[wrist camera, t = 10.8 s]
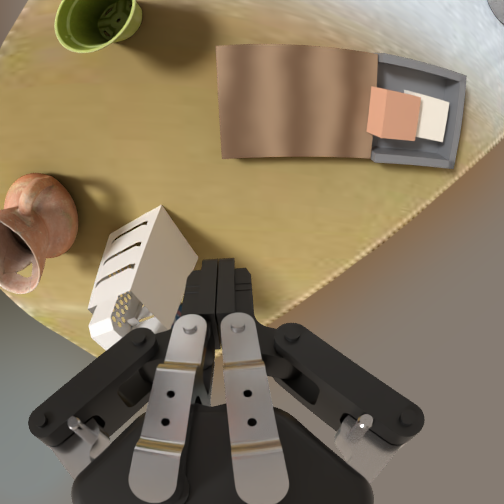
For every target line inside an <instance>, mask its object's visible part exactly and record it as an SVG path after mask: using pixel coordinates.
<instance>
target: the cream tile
mask: <svg viewBox="0 0 504 504" xmlns="http://www.w3.org/2000/svg"><path fill="white" fill-rule="evenodd" d="M404 93H407V94H410V95H414V96H418V97H421V103H420V110H419V118H418V124H417V131H416V137H420V138H425V139H430V140H434V141H439V142H443V138H444V133H445V127H446V121H447V115H448V109H449V102H446V101H443V100H440V99H437V98H434V97H430V96H427V95H423V94H419V93H416V92H412V91H408V90H404Z"/></svg>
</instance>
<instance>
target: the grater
mask: <svg viewBox="0 0 504 504" xmlns="http://www.w3.org/2000/svg"><path fill="white" fill-rule="evenodd" d="M145 221H148V222H147V225H141V226H139V227H138V228H136V229H134V230H132V231H130V232H129V233H127V234H125V235H123V236H121V237H120V238H118V239H116V240H114V239H115V238H116V237H118V236H119V235H121V234H123V233H124V232H126V231H128V230H130V229H132V228H133V227H135V226H137V225H139V224H141V223H142V222H145ZM137 242H141V245H140V246H134V247H133V248H131V249H129V250H127V251H125V252H124V251H123V250H124V249H125V248H127V247H129V246H131V245H133V244H135V243H137ZM119 253H121V254H119ZM115 254H117V255H118V256H116V257H115ZM198 258H199V257H198V256H197V255H196V253H195V252H194V250H193V249H192V248H191V246H190V245H189V243H188V242H187V240H186V239H185V238H184V236H183V235H182V233H181V232H180V230H179V229H178V228H177V226H176V225H175V223H174V222H173V220H172V219H171V217H170V216H169V215H168V213H167V212H166V210H165V209H164V207H163V206H162V205H160V206H158V207H157V208H155V209H153V210H151V211H149V212H147V213H146V214H144V215H142V216H140V217H138V218H137V219H135V220H133V221H131V222H130V223H128V224H126V225H124V226H123V227H121V228H119V229H118V230H116V231H114V232H112V233H111V234H110V235H109V238H108V241H107V244H106V247H105V250H104V253H103V256H102V260H101V263H100V266H99V270H98V273H97V276H96V280H95V283H94V287H93V291H92V294H91V298H90V302H89V306H88V310H89V311H90V312H91V313H92V314H93V316H92V319H91V321H90V324H89V329H90V333H91V337H92V339H94V340H95V341H96V342H97V343H98V344H99V345H100V346H102V347H103V348H104V349H105V350H108V349H109V348H110V347H111V346H113V345H114V344H115V343H116V342H118V341H119V340H120V339H121V338H122V337H124V336H125V335H126V334H127V333H129V332H130V331H131V330H133V329H136V328H141V327H144V328H148V329H150V330H152V331H153V332H154V334H156V333H160V332H164V331H167V330H169V329H171V326H172V323H173V321H174V318H175V316H176V313H177V310H178V308H179V305H180V303H181V300H182V297H183V295H184V292H185V287H186V280H187V277H188V276H189V275H190V273H191V272H192V271H193V270H194V267H195V265H196V262H197V260H198ZM129 264H130V265H131V268H129V267H128V265H129ZM134 264H135V265H134ZM125 266H127V269H125V268H124V267H125ZM121 268H124V271H122V270H121ZM117 270H120V273H118V272H117ZM113 272H115V273H116V275H113ZM109 274H111V277H109V276H108V275H109ZM128 291H130V292H128ZM125 292H126V294H124V293H125ZM121 294H122V295H123V297H120V296H119V295H121ZM127 294H129V295H130V296H131V299H128V297H127ZM124 297H126V298H127V300H128V302H127V303H126V302H125V301H124ZM117 298H118V300H117ZM120 299H121V300H122V301H123V305H121V304H120V302H119V300H120ZM116 303H117V304H118V305H119V307H120V308H119V309H117V308H116V306H115V304H116ZM124 305H127V306H128V310H126V309H125V307H124ZM142 305H144V307H142ZM113 309H115V312H112V311H113ZM121 309H123V310H124V312H125V314H124V315H123V314H122V313H121ZM117 311H118V312H119V313H120V317H117V315H116V312H117ZM151 315H154V316H155V317H153V318H151V319H148V320H145V321H142V322H139V320H140V319H143V318H145V317H148V316H151ZM112 316H114V317H115V318H116V322H113V320H112ZM121 317H124V318H125V323H123V322H122V320H121ZM118 321H119V322H120V323H121V325H122V327H121V328H120V327H119V326H118V324H117V322H118Z"/></svg>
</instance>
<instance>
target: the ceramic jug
mask: <svg viewBox="0 0 504 504" xmlns="http://www.w3.org/2000/svg"><path fill="white" fill-rule="evenodd" d="M77 232H78V214H77V209H76V206H75V203H74V201H73V199H72V197H71V195H70V194H69V193H68V191H67V190H66V189H65V187H64V186H63V185H62V184H61V183H60V182H59V181H58V180H56V179H54V178H53V177H52V176H49V175H45V174H41V173H31V174H26V175H24V176H22V177H20V178H19V179H17V180H16V181H15V182H14V183H13V184H12V186H11V187H10V189H9V191H8V193H7V196H6V199H5V204H4V209H3V210H0V286H1V287H2V288H4V289H6V290H8V291H10V292H13V293H17V294H26V293H29V292H31V291H33V290H34V289H35V288H36V286H37V285H38V283H39V281H40V279H41V276H42V273H43V269H44V265H45V260H46V258H54V257H58V256H60V255H62V254H64V253H65V252H66V251H68V250H69V249H70V247H71V246H72V245H73V243H74V241H75V239H76V236H77ZM31 263H32V264H33V269H32V276H31V277H28V278H26V277H23V276H21V275H19V274H17V272H18V271H21V270H23V269H24V268H26V267H27V266H28V265H30V264H31Z"/></svg>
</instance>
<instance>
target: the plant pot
mask: <svg viewBox="0 0 504 504" xmlns="http://www.w3.org/2000/svg"><path fill="white" fill-rule="evenodd" d="M129 5H132V8H131V7H129ZM110 8H113V9H112V10H111V11H110V12H109V13H108V14H107V15H106V16H105V13H106V12H107V11H108V10H109V9H110ZM118 19H120V22H117V20H118ZM141 21H142V10H141V8H140V6H139V5H138V4H137V2H136V0H62V2H61V4H60V6H59V8H58V10H57V13H56V18H55V32H56V36H57V38H58V40H59V42H60V43H61V44H62V45H63V46H64V47H65V48H66V49H68V50H70V51H73V52H77V53H89V52H94V51H97V50H100V49H102V48H104V47H106V46H108V45H109V44H111V43H114V42H120V41H123V40H125V39H127V38H129V37H131V36H132V35H133V34H134V33H135V32H136V31H137V30H138V28H139V27H140V25H141ZM104 31H106V32H107V33H108V34H109V35H111V36H110V37H109V36H106V35H105V34H104Z"/></svg>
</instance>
